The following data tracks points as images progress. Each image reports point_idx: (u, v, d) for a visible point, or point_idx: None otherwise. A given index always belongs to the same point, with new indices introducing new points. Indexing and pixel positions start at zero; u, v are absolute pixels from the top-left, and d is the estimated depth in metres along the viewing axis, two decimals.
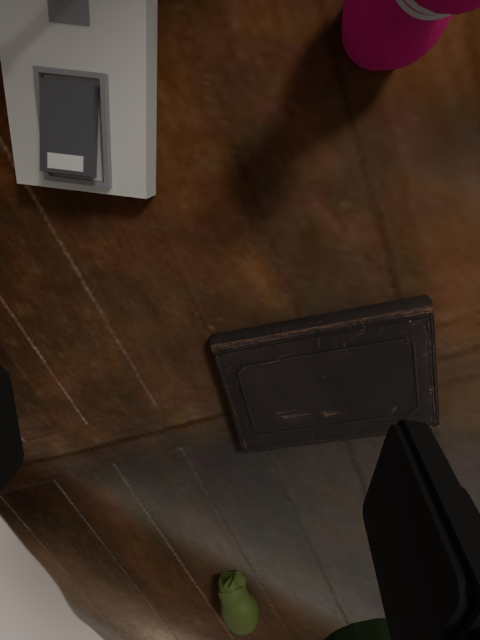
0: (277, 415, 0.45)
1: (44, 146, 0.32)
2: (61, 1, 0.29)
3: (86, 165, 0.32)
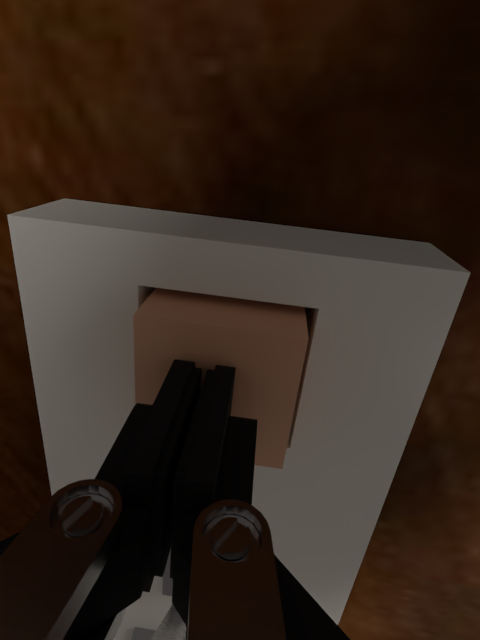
0: None
1: None
2: None
3: None
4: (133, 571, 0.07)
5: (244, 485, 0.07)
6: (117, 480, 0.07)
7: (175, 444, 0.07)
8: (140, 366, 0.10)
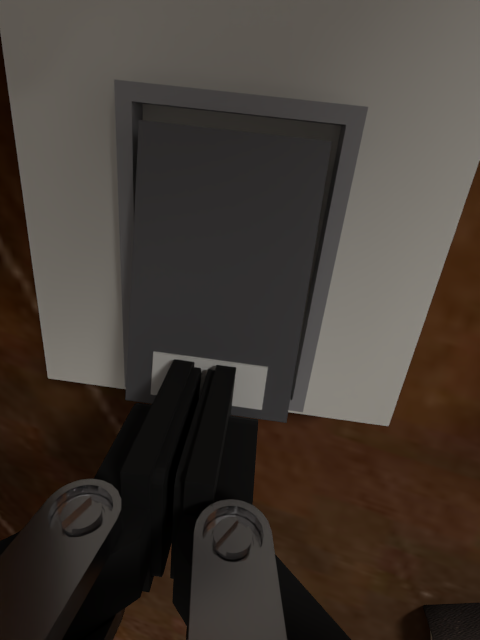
0: None
1: (144, 334, 0.10)
2: None
3: (274, 391, 0.10)
4: (132, 571, 0.07)
5: (244, 485, 0.07)
6: (116, 480, 0.07)
7: (174, 444, 0.07)
8: None
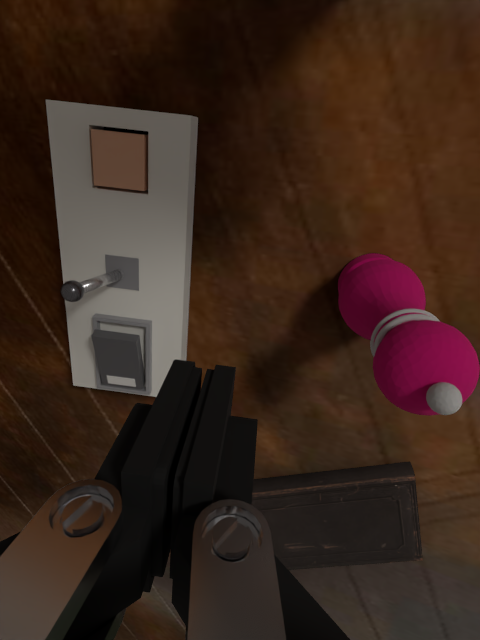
0: (285, 546, 0.53)
1: (103, 372, 0.41)
2: None
3: (137, 383, 0.41)
4: (133, 571, 0.07)
5: (244, 485, 0.07)
6: (117, 480, 0.07)
7: (175, 444, 0.07)
8: (93, 149, 0.33)
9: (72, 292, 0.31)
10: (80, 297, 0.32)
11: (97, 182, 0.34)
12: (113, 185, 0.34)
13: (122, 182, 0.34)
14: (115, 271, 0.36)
